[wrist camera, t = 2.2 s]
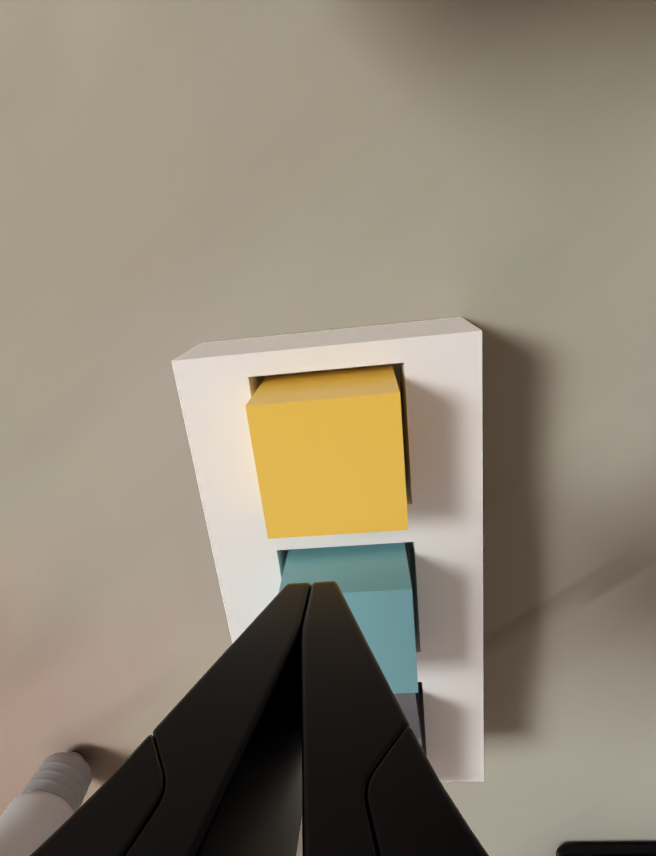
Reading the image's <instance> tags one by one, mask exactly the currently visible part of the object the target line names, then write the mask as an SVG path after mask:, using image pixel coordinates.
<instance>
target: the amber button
mask: <svg viewBox="0 0 656 856" xmlns="http://www.w3.org/2000/svg"><path fill="white" fill-rule="evenodd" d="M245 407H246V413H247V419H248V425H249V431H250V437H251V443H252V448H253V454H254V460H255V466H256V472H257V478H258V484H259V489H260V495H261V501H262V507H263V513H264V519H265V525H266V530H267V536H268V539H273V538H289V537H305V536H320V535H336V534H352V533H367V532H383V531H399V530H408V514H407V497H406V481H405V465H404V448H403V432H402V415H401V399H400V390H399V387H398V384H397V380H396V377H395V374H394V370H393V367H392V365H382V366H371V367H360V368H349V369H339V370H328V371H317V372H306V373H296V374H285V375H274V376H266V377H265V379H264V380H263V382H262V383H261V385H260V386H259V387H258V389H257V390H256V392H255V393H254V394H253V396H252V397H251V399H250V400H249V401H248V403H247V404H246V406H245Z"/></svg>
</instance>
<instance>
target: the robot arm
mask: <svg viewBox="0 0 656 856" xmlns="http://www.w3.org/2000/svg"><path fill="white" fill-rule="evenodd" d="M153 736H154V737H153ZM153 736H152V735H149V736H148V737H147V738H146V739H145V740H144V741H143V742H142V743H141V744H140V746H139V747H138V748H137V749H136V750H135V751H134V752H133V753H132V754H131V755H130V757H129V758H128V759H127V760H126V761H125V762H124V763H123V764H122V765H121V766H120V767H119V768H118V769H117V770H116V771H115V772H114V773H113V774H112V776H111V777H110V778H109V779H108V780H107V781H106V782H105V783H104V784H103V785H102V786H101V787H100V788H99V789H98V790H97V791H96V792H95V793H94V794H93V795H92V796H91V797H90V798H89V799H88V800H87V801H86V802H85V803H84V804H83V805H82V806H81V807H80V808H79V809H78V810H77V811H76V812H75V813H74V814H73V815H72V816H71V817H70V818H69V819H68V820H66V821H65V822H64V823H63V824H62V825H61V826H60V827H59V828H58V829H57V830H56V831H55V832H54V833H53V834H52V835H51V836H50V837H49V838H48V839H47V840H46V841H45V842H43V843H42V844H41V845H40V846H39V847H38V848H37V849H36V850H35V851H34V852H33V853H32V854H31V855H30V856H296V852H297V845H298V838H299V831H300V825H301V818H302V838H303V856H489V855H488V854H487V852H486V851H485V849H484V848H483V847H482V845H481V844H480V842H479V841H478V839H477V838H476V836H475V835H474V833H473V832H472V830H471V829H470V828H469V826H468V824H467V823H466V821H465V820H464V818H463V817H462V815H461V814H460V812H459V810H458V809H457V807H456V806H455V804H454V803H453V801H452V800H451V798H450V796H449V795H448V793H447V792H446V790H445V789H444V787H443V785H442V783H441V782H440V780H439V778H438V776H437V775H436V773H435V771H434V769H433V767H432V766H431V764H430V762H429V760H428V758H427V757H426V755H425V753H424V751H423V749H422V747H421V745H420V743H419V742H418V740H417V738H416V736H415V734H414V732H413V730H412V729H411V728H410V725H409V723H408V721H407V719H406V717H405V715H404V713H403V711H402V709H401V707H400V705H399V703H398V701H397V699H396V697H395V695H394V693H393V691H392V690H391V688H390V686H389V684H388V682H387V680H386V678H385V676H384V674H383V672H382V670H381V668H380V666H379V664H378V662H377V660H376V658H375V656H374V654H373V652H372V651H371V649H370V647H369V645H368V643H367V641H366V639H365V637H364V635H363V633H362V631H361V629H360V627H359V625H358V623H357V621H356V619H355V617H354V615H353V613H352V611H351V610H350V608H349V606H348V604H347V602H346V600H345V598H344V596H343V594H342V592H341V590H340V588H339V586H338V584H337V583H336V582H335V581H324V582H314V583H313V584H312V586H311V584H310V583H307V582H306V583H290V584H287V585H286V586H285V587H284V588H283V589H282V590H281V591H280V592H279V593H278V594H277V595H276V596H275V598H274V599H273V600H272V601H271V602H270V603H269V604H268V605H267V606H266V607H265V609H264V610H263V611H262V612H261V613H260V614H259V615H258V616H257V617H256V618H255V620H254V621H253V622H252V623H251V624H250V625H249V626H248V627H247V628H246V629H245V631H244V632H243V633H242V634H241V635H240V636H239V637H238V638H237V639H236V640H235V642H234V643H233V644H232V645H231V646H230V647H229V648H228V649H227V650H226V651H225V652H224V654H223V655H222V656H221V657H220V658H219V659H218V660H217V661H216V662H215V663H214V665H213V666H212V667H211V668H210V669H209V670H208V671H207V672H206V673H205V674H204V676H203V677H202V678H201V679H200V680H199V681H198V682H197V683H196V684H195V685H194V687H193V688H192V689H191V690H190V691H189V692H188V693H187V694H186V695H185V696H184V698H183V699H182V700H181V701H180V702H179V703H178V704H177V705H176V706H175V707H174V709H173V710H172V711H171V712H170V713H169V714H168V715H167V716H166V717H165V718H164V720H163V721H162V722H161V723H160V724H159V725H158V726H157V727H156V728H155V729H154V731H153ZM556 856H656V844H621V845H563V846H561V847H559V848H558V849H557V851H556Z"/></svg>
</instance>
